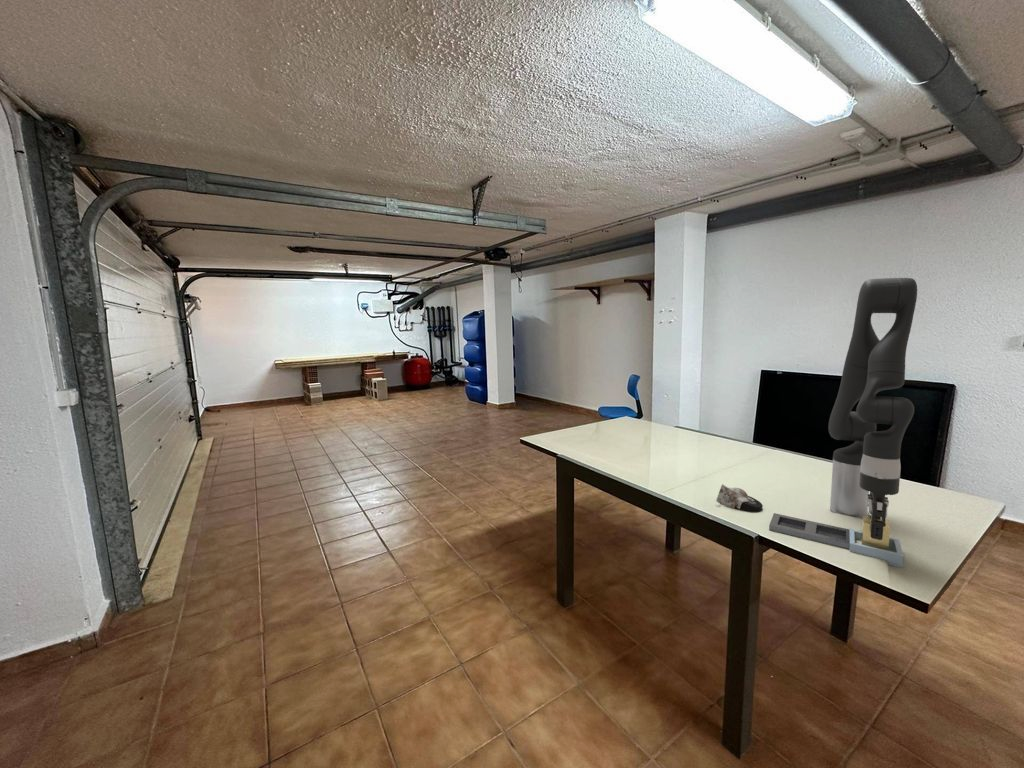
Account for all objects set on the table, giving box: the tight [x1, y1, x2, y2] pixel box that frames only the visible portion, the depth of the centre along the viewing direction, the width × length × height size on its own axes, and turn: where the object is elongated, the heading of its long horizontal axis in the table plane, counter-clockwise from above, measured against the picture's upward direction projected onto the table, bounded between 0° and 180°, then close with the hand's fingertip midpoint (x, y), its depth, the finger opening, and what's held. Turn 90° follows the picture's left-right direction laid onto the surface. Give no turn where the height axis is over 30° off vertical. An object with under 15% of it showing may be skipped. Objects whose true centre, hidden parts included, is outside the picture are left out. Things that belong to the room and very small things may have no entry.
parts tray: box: [848, 528, 904, 568], centre depth 104 cm, size 10×10×3 cm
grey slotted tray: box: [768, 512, 850, 550], centre depth 114 cm, size 10×18×2 cm, turn 50°
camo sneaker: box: [715, 483, 764, 513], centre depth 133 cm, size 7×11×10 cm
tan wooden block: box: [860, 515, 891, 551], centre depth 104 cm, size 5×5×8 cm
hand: (875, 532), depth 103 cm, fingers open, 8 cm apart
